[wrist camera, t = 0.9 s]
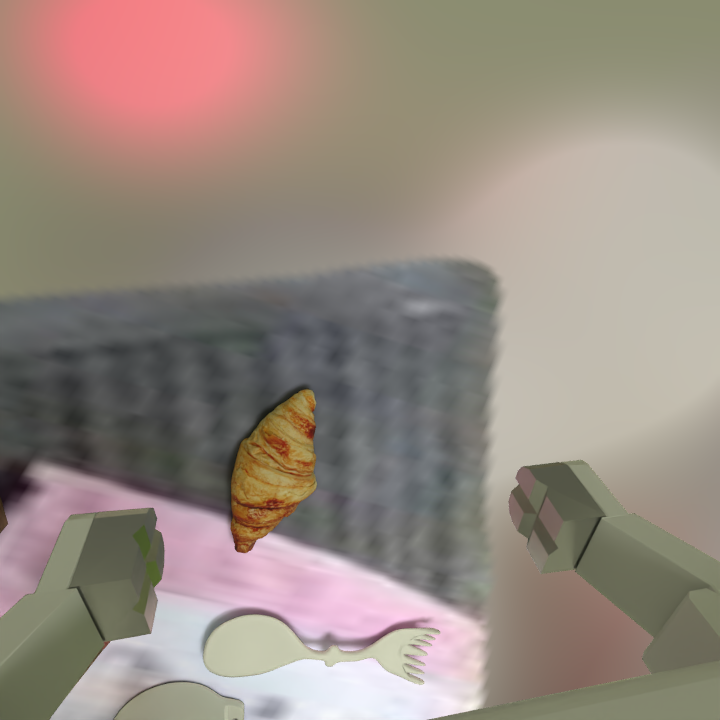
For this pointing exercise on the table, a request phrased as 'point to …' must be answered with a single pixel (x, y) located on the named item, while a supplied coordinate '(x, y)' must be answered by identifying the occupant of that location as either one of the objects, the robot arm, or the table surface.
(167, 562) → the table surface
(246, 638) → the cream elongated piece
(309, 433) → the croissant
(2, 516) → the cube
